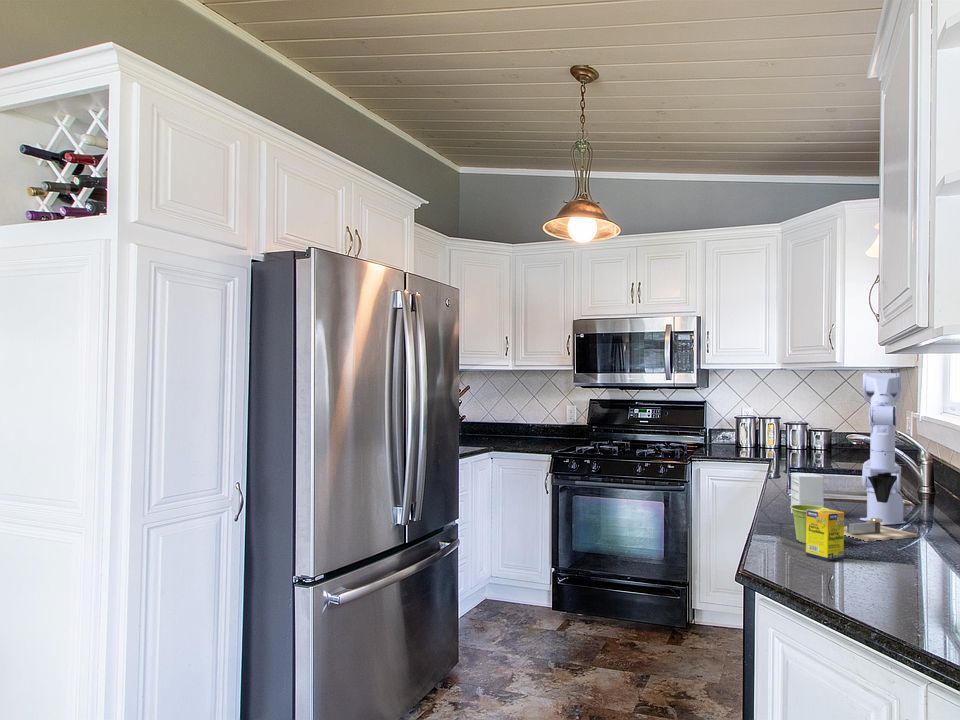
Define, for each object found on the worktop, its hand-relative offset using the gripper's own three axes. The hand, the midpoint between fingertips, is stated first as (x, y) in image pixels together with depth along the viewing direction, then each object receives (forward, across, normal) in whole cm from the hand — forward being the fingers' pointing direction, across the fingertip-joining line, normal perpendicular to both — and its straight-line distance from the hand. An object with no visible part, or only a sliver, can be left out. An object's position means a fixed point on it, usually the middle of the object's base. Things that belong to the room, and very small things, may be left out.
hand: (882, 502), depth 186 cm
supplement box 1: (+10, -9, -28) cm, 31 cm away
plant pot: (+10, +22, -6) cm, 25 cm away
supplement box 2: (+10, +33, +5) cm, 35 cm away
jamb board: (+9, -2, -4) cm, 10 cm away
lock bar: (+8, +2, -3) cm, 9 cm away
